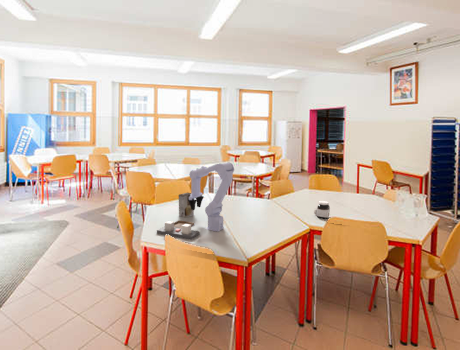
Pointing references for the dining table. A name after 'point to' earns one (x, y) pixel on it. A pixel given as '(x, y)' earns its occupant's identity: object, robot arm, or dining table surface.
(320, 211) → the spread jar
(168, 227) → the seated plug
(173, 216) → the dining table surface
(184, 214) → the coffee box
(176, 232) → the power strip
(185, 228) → the white plug
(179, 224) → the tray
